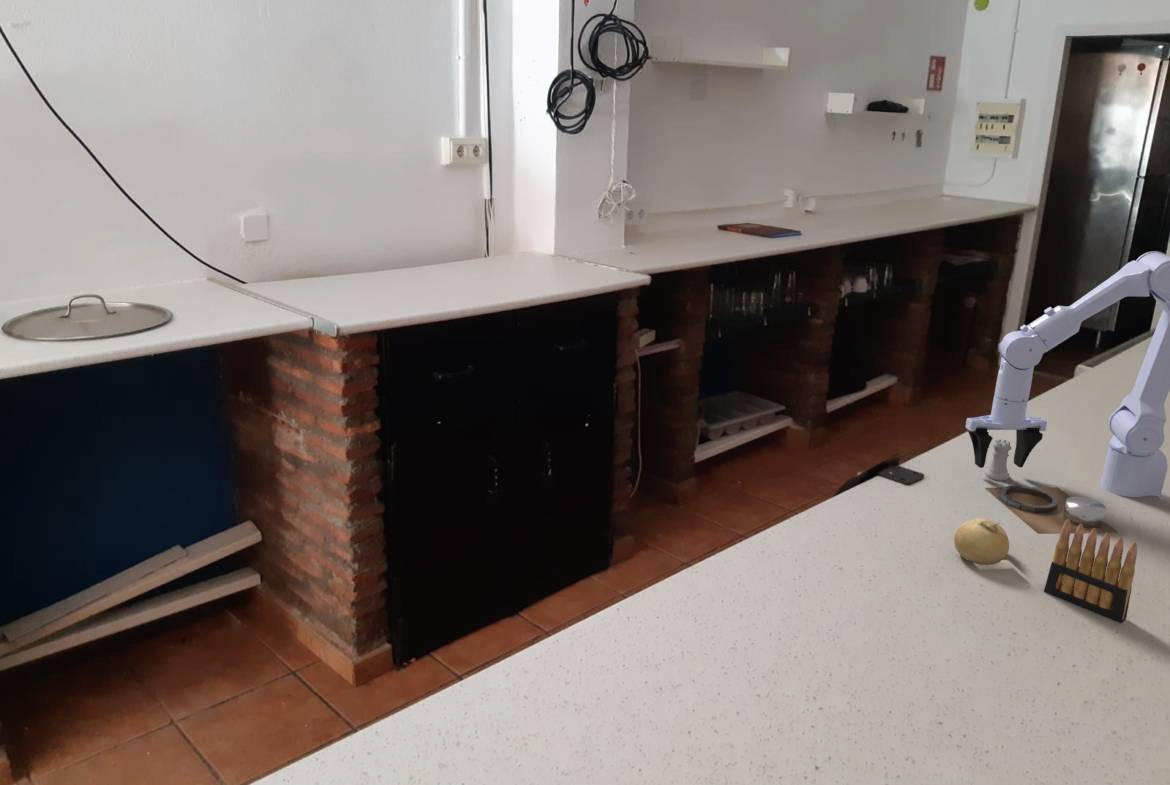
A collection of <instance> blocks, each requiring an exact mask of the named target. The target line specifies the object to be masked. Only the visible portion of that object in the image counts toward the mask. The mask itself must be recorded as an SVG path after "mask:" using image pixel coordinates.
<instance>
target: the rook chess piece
mask: <svg viewBox="0 0 1170 785" xmlns="http://www.w3.org/2000/svg"><path fill="white" fill-rule="evenodd" d="M992 447H993V449H994V451H993V452H992V454H993V455H992V460H991V462H990V464H989V466H987V468H986V469H985V471H984V475H985V476H986V477H987V478H989V479H991V480H995V481H1000V482H1001V481H1003V482H1004V481H1007V480H1008V479H1009V478H1010V473H1009V471H1008V468H1007V466H1008V465H1007V464H1008V458H1009V456H1010V455H1009V451H1010V450H1012V447H1011V442H1010V441H1007V440H1006V439H1003V441H1002V439H998V440H997V439H996V440H995V441H994V443H993V444H992Z"/></svg>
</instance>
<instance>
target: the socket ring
mask: <svg viewBox="0 0 1170 785" xmlns="http://www.w3.org/2000/svg"><path fill="white" fill-rule="evenodd" d="M1032 487H1033V486H1025V485H1008V486H1007V485H1006V486H1004V488H1002V489H1001V493H1000V499H1001V500H1002V501H1003V502H1004V503H1005V504H1007V505H1009V506H1011V507H1014V508H1016V509H1019V510H1022V511H1028V512H1033V513H1049V512H1052V511H1054V510H1056V509H1057V498H1055V497H1054V496H1053V495H1051V494H1050V493H1048V492H1045V491H1042V490H1040V489H1036V488H1032ZM1009 493H1027V494H1033V495H1036V496H1039V497H1041V498H1044V499H1046V500H1047V501H1048V502H1050V503H1051V504H1049V505H1046V506H1034V505H1029V504H1024V503H1020V502H1018V501H1015V500H1013V499H1011V498H1010V497H1008V496H1007V494H1009Z"/></svg>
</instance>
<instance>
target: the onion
mask: <svg viewBox="0 0 1170 785" xmlns="http://www.w3.org/2000/svg"><path fill="white" fill-rule="evenodd" d="M1000 525H1001V523H1000V522H998V523H997V522H994V521H992V520H991V519H988V518H983V517H982V518H975V519H970V520H968V521H965V522H963V523H962V524H961V525H959V527H958V528H957V529H956V532H955V533H954V538H953V539H954V541H953V542H954V543H953V544H954V548H955V550H956V551H957V552H958V554H959V555H961V557H962V558H963V559H965V560H966V561H968V562H971V563H974V564H977V565H983V566H986V565H987V566H988V565H989V566H990V565H994V564H999V563H1001V561H1003V560H1004V559H1005V558H1006V557H1007V555H1008V554H1009V549H1010V540H1009V537H1008V535H1007V532H1006V531H1005V529H1004V528H1003V527H1002V526H1000Z"/></svg>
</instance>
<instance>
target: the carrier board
mask: <svg viewBox="0 0 1170 785" xmlns="http://www.w3.org/2000/svg"><path fill="white" fill-rule="evenodd" d="M1004 487H1005V486H1004ZM1004 487H1003V486H1002V487H984V489H985V490H986V491H987V492H988V493H990V494H991V495H992V496H993V497H994V498H995V499H997V500H998V501H999V502H1000V503H1001V504H1003V506H1005V507H1006V508H1007V509H1008V510H1010V511H1011V512H1012V513H1013V515H1015V516H1016V517H1018V519H1020V520H1021V521H1022V522H1024V523H1025V524H1026V525H1027V526H1029V528H1031V530H1033V531H1034V532H1035V533H1037V534H1040V535H1041V534H1045V535H1046V534H1061V530H1062V527H1063V525H1064V523H1065V522H1066V520H1065V519H1064V518H1063V513H1064V508H1065V504H1066V499H1067V498H1069V497H1071V496H1070V495H1069V494H1067V493H1066V492H1065V491H1063V489H1061V488H1059V487H1058V486H1031V487H1032V488H1036V489H1040V490H1042V491H1045V492H1048V493H1050V494H1051V495H1053V496H1054V497H1055V498H1057V509H1056V510H1054V511H1052V512H1049V513H1033V512H1028V511H1022V510H1019V509H1016V508H1014V507H1011V506H1009V505H1007V504H1005V503H1004V502H1003V501H1002V500H1001V499H1000V493H1001V489H1002V488H1004ZM1007 496H1008V497H1010V498H1011V499H1013V500H1015V501H1018V502H1020V503H1024V504H1029V505H1034V506H1046V505H1049V504H1051V503H1050V502H1048V501H1047V500H1046V499H1044V498H1041V497H1039V496H1036V495H1033V494H1027V493H1009V494H1007ZM1070 525H1071V530H1070V534H1075V532H1076V529H1077V528H1078V526H1076V525H1073V524H1071V523H1070ZM1092 529H1093V528H1084V527H1083V530H1084V534H1090V532H1091V531H1092ZM1095 529H1096V532H1097V534H1104V533H1105V534H1106V533H1109V534H1110V533H1112V534H1113V533H1115V534H1117V533H1119V531H1117V530H1116V529H1115V528H1113V527H1112V526H1111V525H1110V524H1108V523H1107V522H1105V521H1104V520H1103V524H1102V526H1101V527H1099V528H1095Z"/></svg>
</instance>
